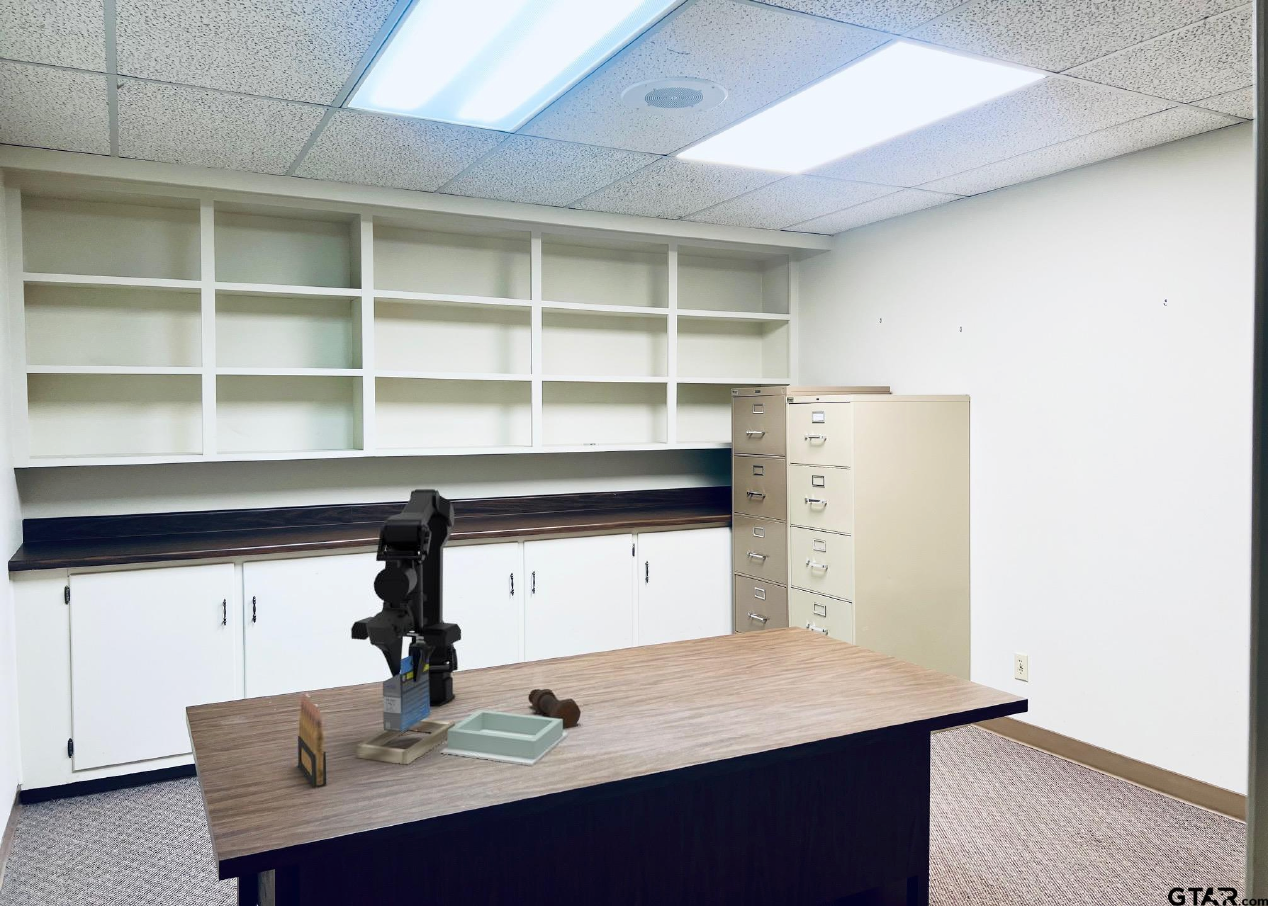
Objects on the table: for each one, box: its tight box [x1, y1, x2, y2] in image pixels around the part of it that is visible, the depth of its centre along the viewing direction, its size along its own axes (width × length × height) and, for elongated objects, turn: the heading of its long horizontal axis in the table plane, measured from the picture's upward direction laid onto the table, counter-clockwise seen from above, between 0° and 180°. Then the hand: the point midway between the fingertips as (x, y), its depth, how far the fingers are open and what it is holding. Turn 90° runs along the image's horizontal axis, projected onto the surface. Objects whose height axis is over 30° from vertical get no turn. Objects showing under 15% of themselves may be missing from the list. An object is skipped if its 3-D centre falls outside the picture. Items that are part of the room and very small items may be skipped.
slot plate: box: [440, 709, 569, 767], centre depth 152 cm, size 17×15×3 cm
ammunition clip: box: [297, 693, 327, 789], centre depth 139 cm, size 11×2×12 cm, turn 33°
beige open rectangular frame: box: [355, 718, 456, 765], centre depth 152 cm, size 10×15×2 cm, turn 161°
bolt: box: [528, 688, 582, 730], centre depth 167 cm, size 6×5×15 cm
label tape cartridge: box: [382, 654, 431, 732], centre depth 151 cm, size 9×4×12 cm, turn 161°
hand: (406, 680), depth 151 cm, fingers closed on label tape cartridge, 4 cm apart
